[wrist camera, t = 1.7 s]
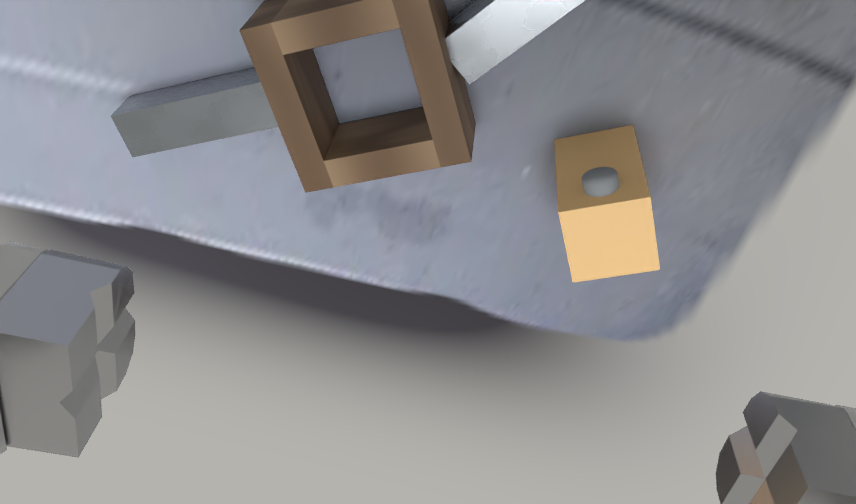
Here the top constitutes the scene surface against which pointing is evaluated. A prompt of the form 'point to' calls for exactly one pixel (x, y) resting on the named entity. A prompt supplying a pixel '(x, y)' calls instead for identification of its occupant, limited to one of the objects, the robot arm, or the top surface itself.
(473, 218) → the top surface
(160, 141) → the steel shafts
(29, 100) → the top surface
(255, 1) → the top surface
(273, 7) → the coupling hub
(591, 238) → the block
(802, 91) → the top surface
